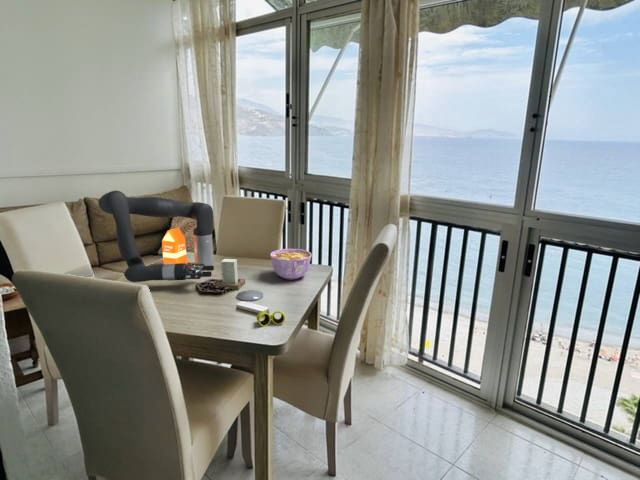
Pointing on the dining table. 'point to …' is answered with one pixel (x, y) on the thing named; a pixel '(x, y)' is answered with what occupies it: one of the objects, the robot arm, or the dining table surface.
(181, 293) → the dining table surface
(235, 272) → the skincare box
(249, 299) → the slate coaster
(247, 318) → the dining table surface
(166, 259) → the orange juice
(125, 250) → the robot arm
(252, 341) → the dining table surface
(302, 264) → the bowl of food
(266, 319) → the opera glasses
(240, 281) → the pocket block
